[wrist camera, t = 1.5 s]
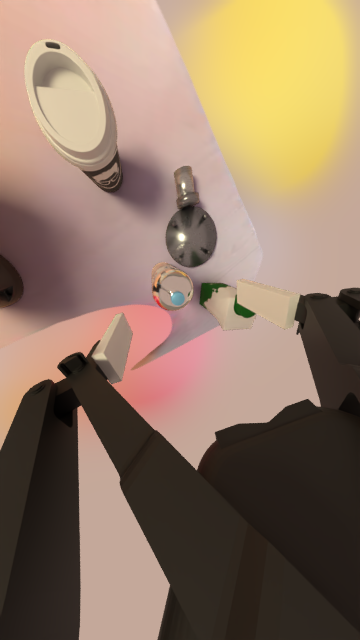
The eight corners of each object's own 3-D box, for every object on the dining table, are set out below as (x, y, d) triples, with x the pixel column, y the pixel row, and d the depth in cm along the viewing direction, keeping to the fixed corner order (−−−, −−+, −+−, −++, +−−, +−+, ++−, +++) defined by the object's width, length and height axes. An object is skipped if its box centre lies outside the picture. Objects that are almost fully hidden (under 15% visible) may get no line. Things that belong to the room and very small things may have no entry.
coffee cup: (133, 155, 28) (118, 69, 15) (126, 208, 32) (108, 176, 19) (81, 126, 25) (6, -13, 12) (79, 188, 29) (19, 133, 16)
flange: (172, 271, 40) (175, 274, 35) (151, 182, 31) (151, 169, 26) (216, 260, 41) (224, 260, 36) (209, 170, 32) (218, 155, 27)
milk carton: (224, 280, 44) (272, 297, 27) (219, 306, 48) (259, 335, 31) (199, 280, 43) (233, 298, 25) (196, 306, 47) (224, 338, 29)
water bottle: (158, 256, 38) (168, 260, 16) (178, 270, 40) (212, 289, 18) (147, 278, 39) (142, 309, 17) (167, 289, 42) (185, 329, 20)
